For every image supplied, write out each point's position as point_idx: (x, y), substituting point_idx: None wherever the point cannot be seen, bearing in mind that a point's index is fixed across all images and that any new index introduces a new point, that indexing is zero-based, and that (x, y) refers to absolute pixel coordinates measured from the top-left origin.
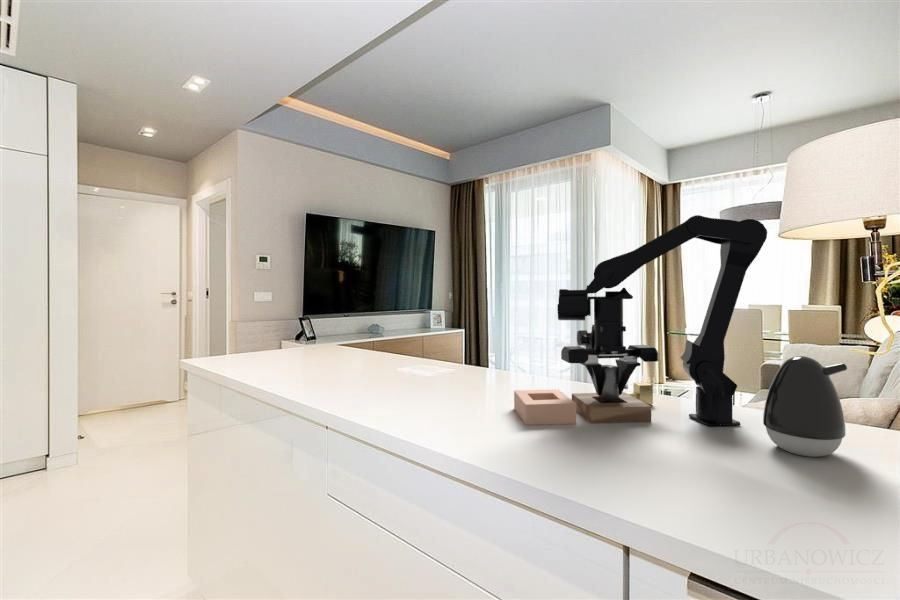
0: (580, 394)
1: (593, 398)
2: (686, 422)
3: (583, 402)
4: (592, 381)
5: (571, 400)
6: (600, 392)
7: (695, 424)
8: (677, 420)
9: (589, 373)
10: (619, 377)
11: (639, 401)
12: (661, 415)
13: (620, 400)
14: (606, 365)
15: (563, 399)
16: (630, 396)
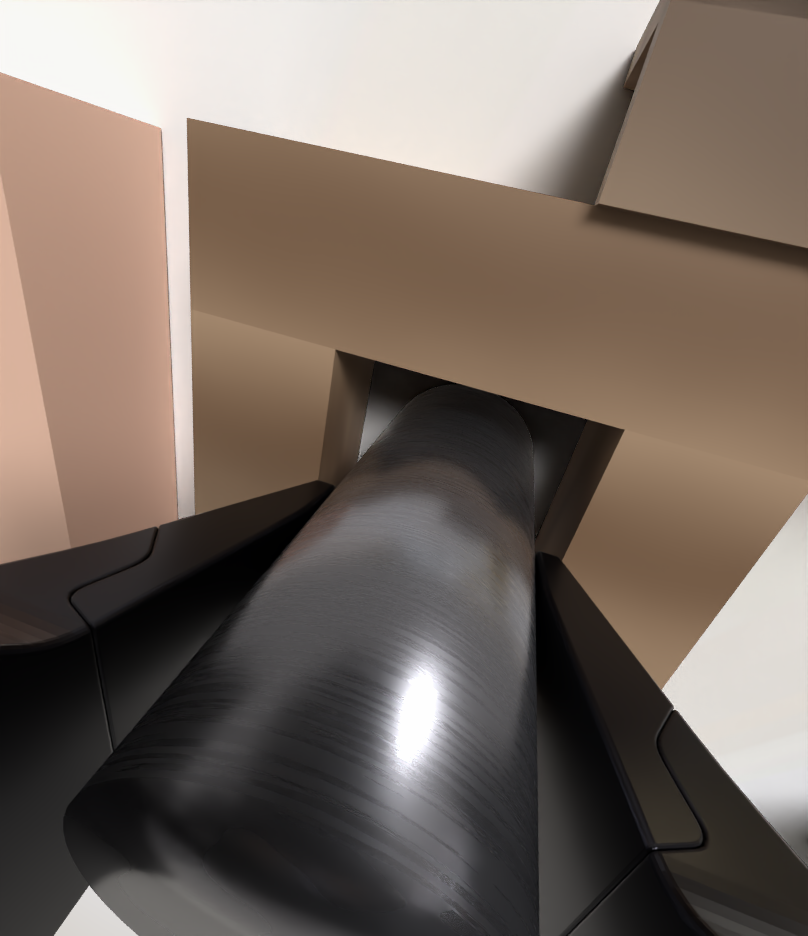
0: (269, 209)
1: (322, 424)
2: (782, 767)
3: (197, 485)
4: (197, 517)
5: (63, 538)
6: None
7: (789, 801)
8: (775, 729)
9: (51, 567)
10: (548, 762)
11: (650, 664)
12: (802, 632)
13: (577, 511)
14: (299, 876)
15: (12, 496)
16: (762, 512)
